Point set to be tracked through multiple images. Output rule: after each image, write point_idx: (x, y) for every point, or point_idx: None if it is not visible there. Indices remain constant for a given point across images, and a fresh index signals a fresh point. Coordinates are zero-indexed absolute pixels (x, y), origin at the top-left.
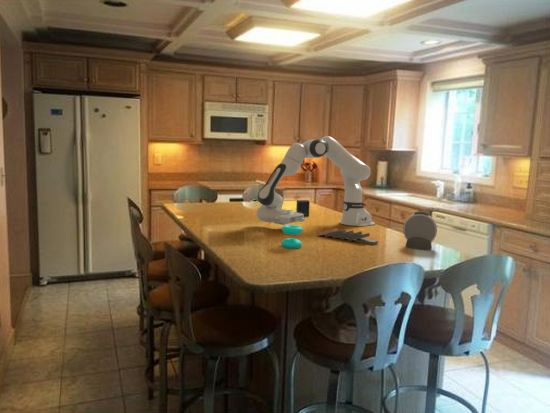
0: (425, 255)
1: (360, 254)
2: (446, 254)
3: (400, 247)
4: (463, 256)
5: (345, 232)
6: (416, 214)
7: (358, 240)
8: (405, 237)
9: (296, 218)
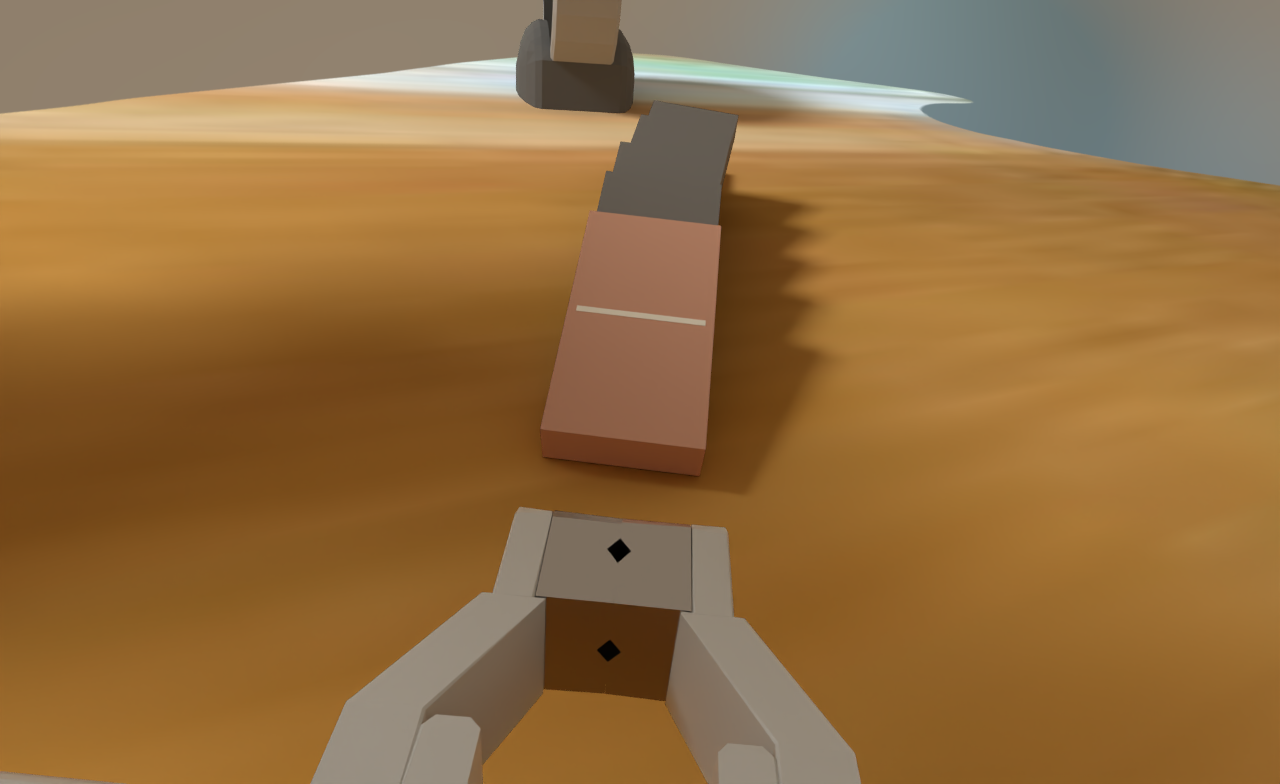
0: (742, 93)
1: (1041, 198)
2: (650, 69)
3: None
4: (640, 55)
5: (719, 183)
6: None
7: None
8: (613, 49)
9: (822, 734)
